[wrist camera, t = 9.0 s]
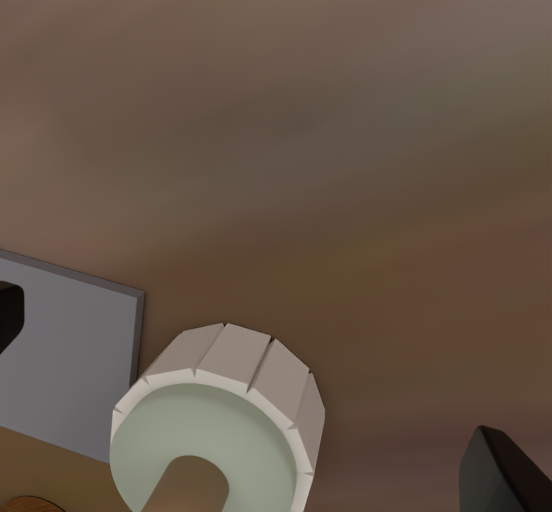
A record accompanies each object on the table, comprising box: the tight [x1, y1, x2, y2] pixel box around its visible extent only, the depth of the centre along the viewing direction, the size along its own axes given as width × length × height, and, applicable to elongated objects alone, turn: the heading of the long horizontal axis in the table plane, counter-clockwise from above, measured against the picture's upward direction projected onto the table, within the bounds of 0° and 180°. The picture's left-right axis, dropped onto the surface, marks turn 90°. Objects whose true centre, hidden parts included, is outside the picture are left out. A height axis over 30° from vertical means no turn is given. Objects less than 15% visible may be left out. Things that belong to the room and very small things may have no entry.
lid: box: [110, 383, 297, 512], centre depth 18 cm, size 8×8×5 cm
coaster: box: [0, 249, 145, 464], centre depth 26 cm, size 11×11×1 cm
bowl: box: [110, 323, 326, 512], centre depth 22 cm, size 9×9×4 cm
